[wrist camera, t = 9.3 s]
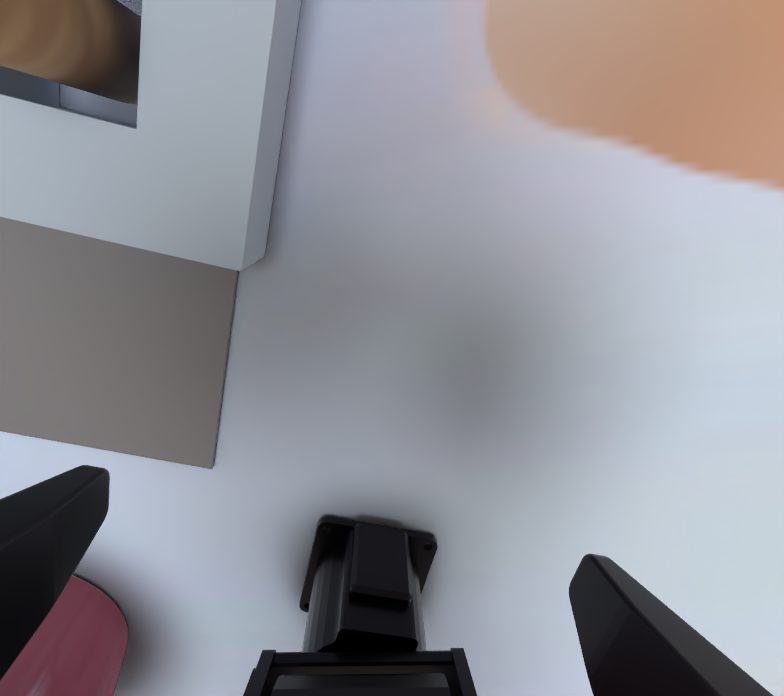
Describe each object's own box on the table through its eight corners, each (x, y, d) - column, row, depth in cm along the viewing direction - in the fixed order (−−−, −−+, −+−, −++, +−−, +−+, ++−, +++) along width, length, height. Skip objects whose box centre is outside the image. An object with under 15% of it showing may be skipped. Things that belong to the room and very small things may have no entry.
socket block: (264, 255, 19) (241, 271, 16) (-39, 185, 18) (-133, 186, 15) (315, -95, 15) (297, -170, 12) (-71, -219, 14) (-210, -341, 11)
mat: (213, 465, 23) (211, 469, 22) (2, 427, 22) (-3, 430, 21) (250, 176, 18) (248, 176, 18) (-17, 109, 17) (-24, 107, 17)
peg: (163, 112, 17) (-42, 49, 9) (81, 91, 17) (-214, 4, 8) (169, 22, 16) (-57, -147, 8) (82, -3, 16) (-252, -208, 7)
